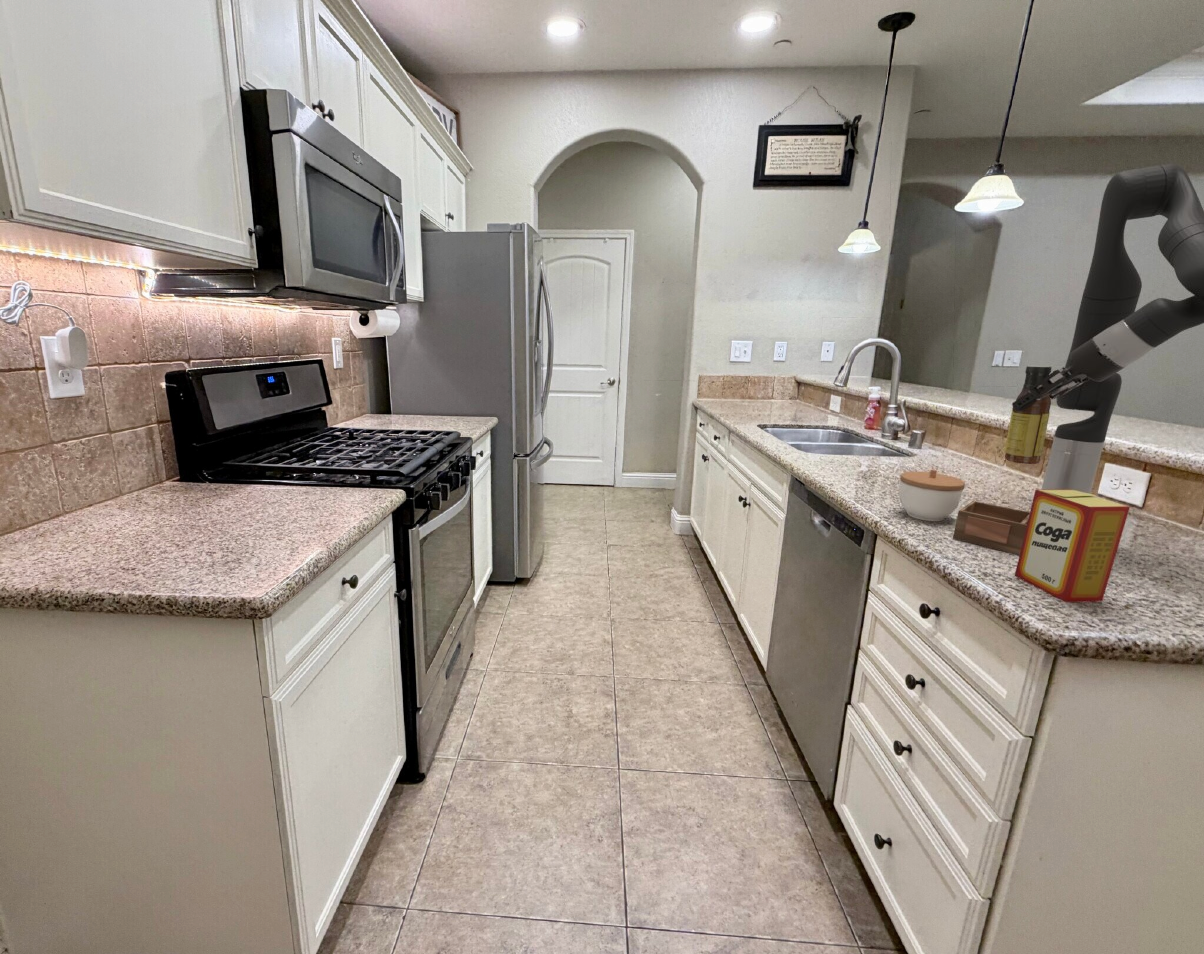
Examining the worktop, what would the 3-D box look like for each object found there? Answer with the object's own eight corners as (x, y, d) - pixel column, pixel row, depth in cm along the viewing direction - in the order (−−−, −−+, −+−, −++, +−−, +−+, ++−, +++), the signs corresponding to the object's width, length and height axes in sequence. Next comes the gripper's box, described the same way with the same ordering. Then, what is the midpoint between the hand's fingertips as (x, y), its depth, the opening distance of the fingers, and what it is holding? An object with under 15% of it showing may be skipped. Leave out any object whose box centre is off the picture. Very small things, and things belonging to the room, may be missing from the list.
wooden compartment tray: (967, 526, 118) (972, 500, 117) (1092, 556, 104) (1101, 526, 102) (952, 538, 111) (958, 510, 109) (1085, 572, 96) (1093, 540, 95)
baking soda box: (1102, 601, 86) (1130, 504, 81) (1065, 602, 85) (1091, 504, 81) (1048, 575, 95) (1071, 487, 91) (1014, 575, 94) (1036, 487, 90)
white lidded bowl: (938, 529, 116) (948, 479, 113) (883, 512, 127) (890, 466, 124) (968, 520, 123) (978, 473, 120) (912, 505, 133) (920, 461, 130)
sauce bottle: (1026, 459, 117) (1048, 365, 112) (1047, 465, 111) (1070, 367, 106) (994, 457, 118) (1014, 364, 113) (1012, 464, 111) (1034, 365, 107)
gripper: (1109, 336, 106) (1024, 392, 118) (1082, 335, 98) (994, 394, 110) (1138, 366, 103) (1048, 419, 115) (1113, 366, 95) (1019, 423, 107)
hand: (1022, 407), depth 113 cm, fingers closed on sauce bottle, 6 cm apart
